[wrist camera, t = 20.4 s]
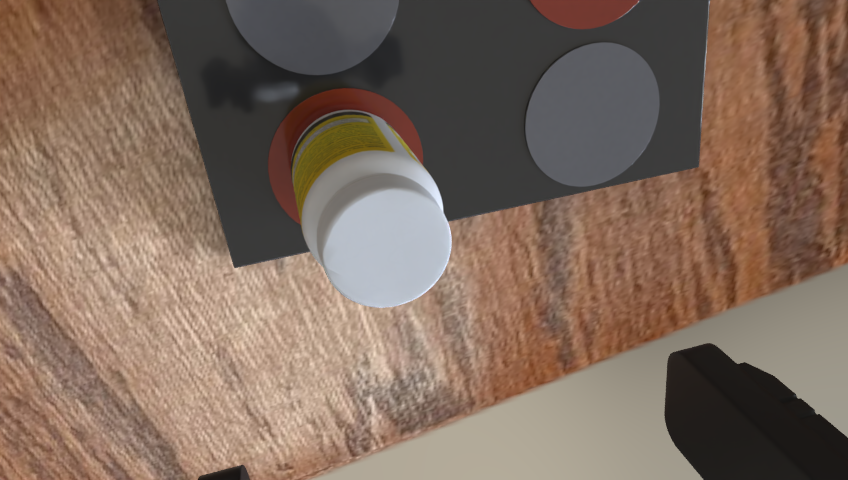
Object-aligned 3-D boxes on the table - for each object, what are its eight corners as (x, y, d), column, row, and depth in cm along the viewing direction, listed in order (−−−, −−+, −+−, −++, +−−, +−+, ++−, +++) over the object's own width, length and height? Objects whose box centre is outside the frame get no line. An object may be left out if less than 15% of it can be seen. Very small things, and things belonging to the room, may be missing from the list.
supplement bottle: (270, 190, 26) (278, 287, 19) (322, 86, 25) (353, 145, 18) (373, 234, 28) (417, 338, 21) (426, 139, 27) (493, 214, 20)
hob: (132, -101, 22) (126, -103, 21) (702, -171, 26) (724, -177, 25) (234, 256, 29) (234, 270, 27) (684, 160, 32) (700, 168, 31)
